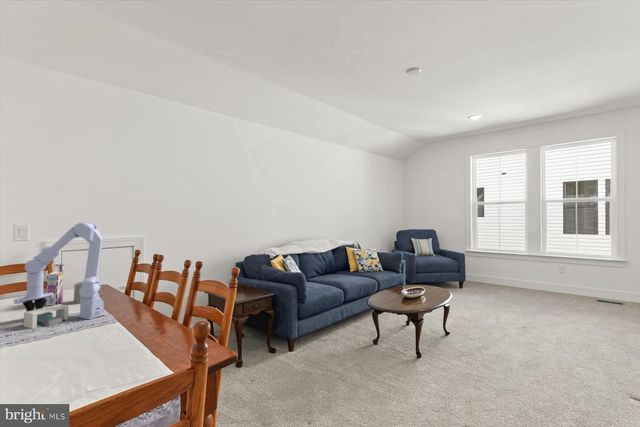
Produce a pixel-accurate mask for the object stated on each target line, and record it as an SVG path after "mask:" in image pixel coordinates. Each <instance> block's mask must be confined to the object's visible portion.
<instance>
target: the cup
mask: <svg viewBox="0 0 640 427" xmlns="http://www.w3.org/2000/svg"><path fill="white" fill-rule="evenodd" d="M82 283H83V281H81V282H76V283H74V285H73V286H74V289H73V291H74V292H73V303H74V304H76V305H77V304H78V305H79V304H80V300H81V296H80V294H79V289H80V288H81V286H82Z"/></svg>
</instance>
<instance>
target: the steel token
mask: <svg viewBox="0 0 640 427" xmlns="http://www.w3.org/2000/svg"><path fill="white" fill-rule="evenodd" d="M59 324H60V325H61V324H63V319H62V318H60V317H56V316H52V317H51V318H47V319H43V320H42V322H41V325H42V326H46V327H52V326H55V325H59Z"/></svg>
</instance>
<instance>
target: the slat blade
mask: <svg viewBox="0 0 640 427" xmlns="http://www.w3.org/2000/svg"><path fill="white" fill-rule="evenodd" d="M25 312H27V310H26V309H25ZM51 317H53V312H52V311H51V312H47V313H43V314H39V315H37V322H40V323H42V320H43V319H47V318H51Z"/></svg>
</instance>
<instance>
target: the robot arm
mask: <svg viewBox="0 0 640 427" xmlns="http://www.w3.org/2000/svg"><path fill="white" fill-rule="evenodd" d="M79 237H80V238H82V239H84V240H86V242H87V243H88V244H89V246H88V251H87V253H88V254H87V259H86V268H85V274H84V278H83V280H82V282H83V283H82V286H81V288H80V289H79V294H80V296H81V300H80V305H79V306H80V309H79V314H76V315H75V317H76V318H80V319H86V320H91V319H95V318H98V317H102V316H105V315H106V313H105V309H104V308H105V306H104V305H105V302H104V300H103V298H101V297H100V294H99V292H100V290H101V289H102V288H101V283H100V278H99V272H100V263H101V258H102V257H101V256H102V250H103V249H102V248H103V239H104V238H103V237H102V235H101V233H100V231H99V228H98V226H96V225H95V224H94V223H92V222H89V221H87V222H78V223H77V224H75V225H74V226H72V227H71V228H70V229H68V230H67V231H66V232H65V234H64V235H62V236H61V237H60V238H59V239H58V240H57V241H56V242H55V243H54V244H53V245H52V246H46V247H43V248H42V249H41V252H39V253H38V254H37V255H35V256H33V257H32V259H31V260H28V261H27V262H26V263H25V265H24V270H25V271H26V296H22V297H19V298H14V299H13V301H14V302H13V304H14V305H20V304H22V305H23V307H24V308H25V311H26V310H27V311H32V310H36V309H41V308H44V307H45V306H46V302H47V299H46V298H49V297H54V293H44V280H45V279H44V271H45V269H46V268H47V266H48V265H49V264H50V263H51V262H52V261H53V260H55V259H56V258H57V257H58V256H59V255H60V250H62V249H63V248H64V247H65V246H67V244H69V243H70V242H72V241H73V240H74V239H77V238H79Z"/></svg>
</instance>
